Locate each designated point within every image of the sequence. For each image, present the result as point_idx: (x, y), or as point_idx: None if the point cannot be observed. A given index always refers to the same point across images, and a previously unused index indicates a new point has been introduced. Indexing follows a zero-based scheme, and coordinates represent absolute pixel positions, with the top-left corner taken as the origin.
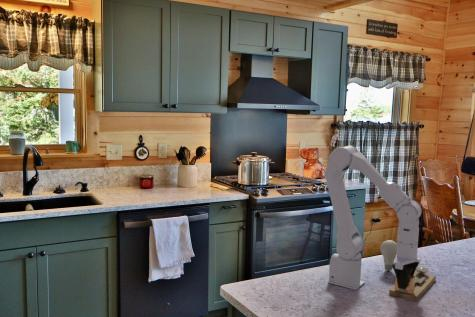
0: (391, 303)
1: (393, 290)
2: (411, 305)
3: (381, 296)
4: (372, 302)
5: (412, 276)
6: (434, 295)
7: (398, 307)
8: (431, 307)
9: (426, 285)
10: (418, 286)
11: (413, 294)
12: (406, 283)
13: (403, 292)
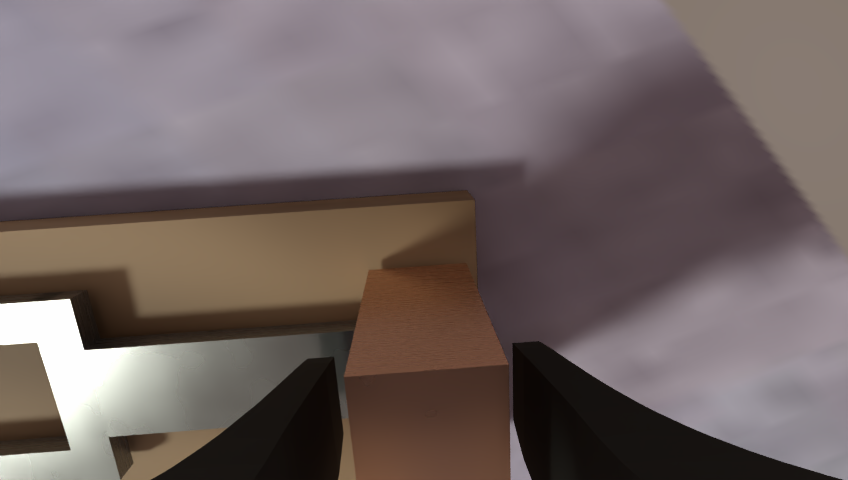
0: (661, 347)
1: None
2: (589, 194)
3: None
4: None
5: (404, 405)
6: (130, 96)
7: (713, 269)
8: (501, 10)
9: (13, 235)
10: (137, 294)
11: (430, 250)
12: (591, 378)
13: None
